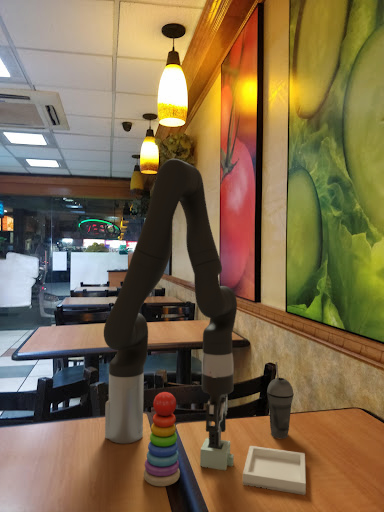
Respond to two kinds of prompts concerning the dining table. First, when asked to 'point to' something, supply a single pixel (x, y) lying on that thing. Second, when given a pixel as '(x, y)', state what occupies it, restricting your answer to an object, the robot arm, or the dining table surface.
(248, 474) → the tray
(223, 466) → the pale green hollow block
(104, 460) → the dining table surface
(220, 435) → the post
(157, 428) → the stacking toy
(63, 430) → the dining table surface
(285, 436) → the beverage cup
